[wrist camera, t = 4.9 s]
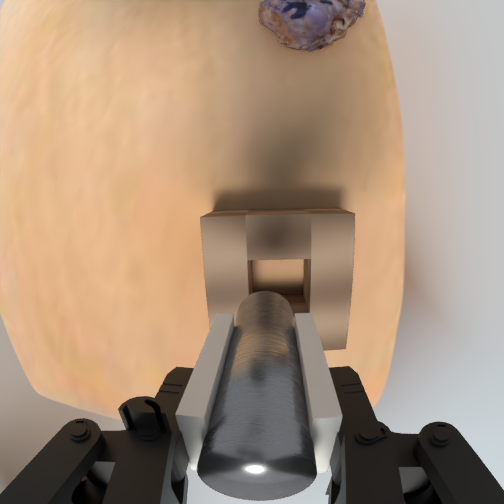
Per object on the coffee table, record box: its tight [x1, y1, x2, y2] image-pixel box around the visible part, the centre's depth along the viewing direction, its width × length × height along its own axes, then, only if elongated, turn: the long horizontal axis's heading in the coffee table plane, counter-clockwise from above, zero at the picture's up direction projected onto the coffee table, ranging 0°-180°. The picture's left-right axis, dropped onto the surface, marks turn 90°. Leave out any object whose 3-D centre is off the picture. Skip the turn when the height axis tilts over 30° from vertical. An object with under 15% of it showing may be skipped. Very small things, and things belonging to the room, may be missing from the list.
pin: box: [197, 291, 317, 501], centre depth 10 cm, size 3×3×10 cm
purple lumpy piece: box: [259, 0, 365, 51], centre depth 19 cm, size 12×8×6 cm, turn 114°
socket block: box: [200, 208, 355, 351], centre depth 25 cm, size 12×12×5 cm
